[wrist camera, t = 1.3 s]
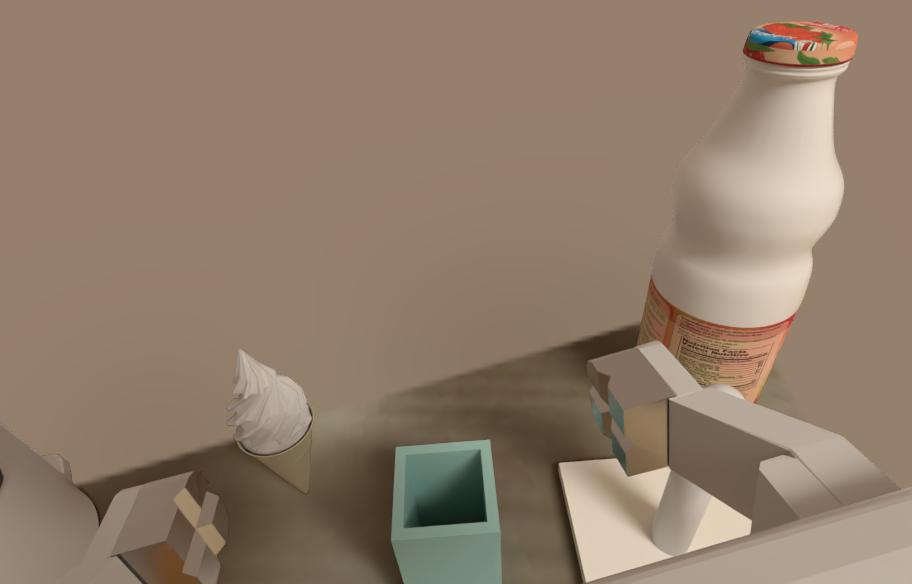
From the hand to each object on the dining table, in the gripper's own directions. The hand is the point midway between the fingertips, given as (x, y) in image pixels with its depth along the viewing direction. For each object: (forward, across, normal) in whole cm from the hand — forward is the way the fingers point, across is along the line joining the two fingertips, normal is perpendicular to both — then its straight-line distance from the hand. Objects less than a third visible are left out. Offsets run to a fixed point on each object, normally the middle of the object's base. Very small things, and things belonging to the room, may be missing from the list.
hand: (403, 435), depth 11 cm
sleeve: (+13, +2, +25) cm, 28 cm away
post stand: (+11, -12, +26) cm, 31 cm away
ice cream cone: (+20, +12, +22) cm, 33 cm away
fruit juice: (+22, -19, +26) cm, 39 cm away
